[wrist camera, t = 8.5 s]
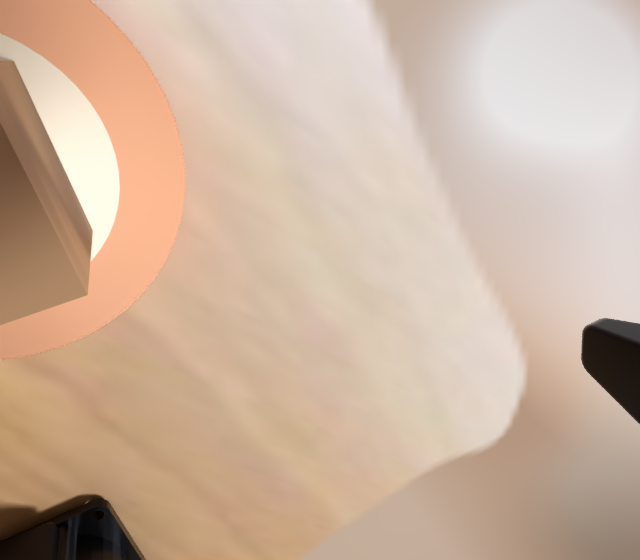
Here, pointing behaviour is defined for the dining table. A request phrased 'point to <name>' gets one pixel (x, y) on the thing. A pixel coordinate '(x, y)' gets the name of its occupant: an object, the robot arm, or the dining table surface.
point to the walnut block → (36, 212)
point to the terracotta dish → (97, 157)
